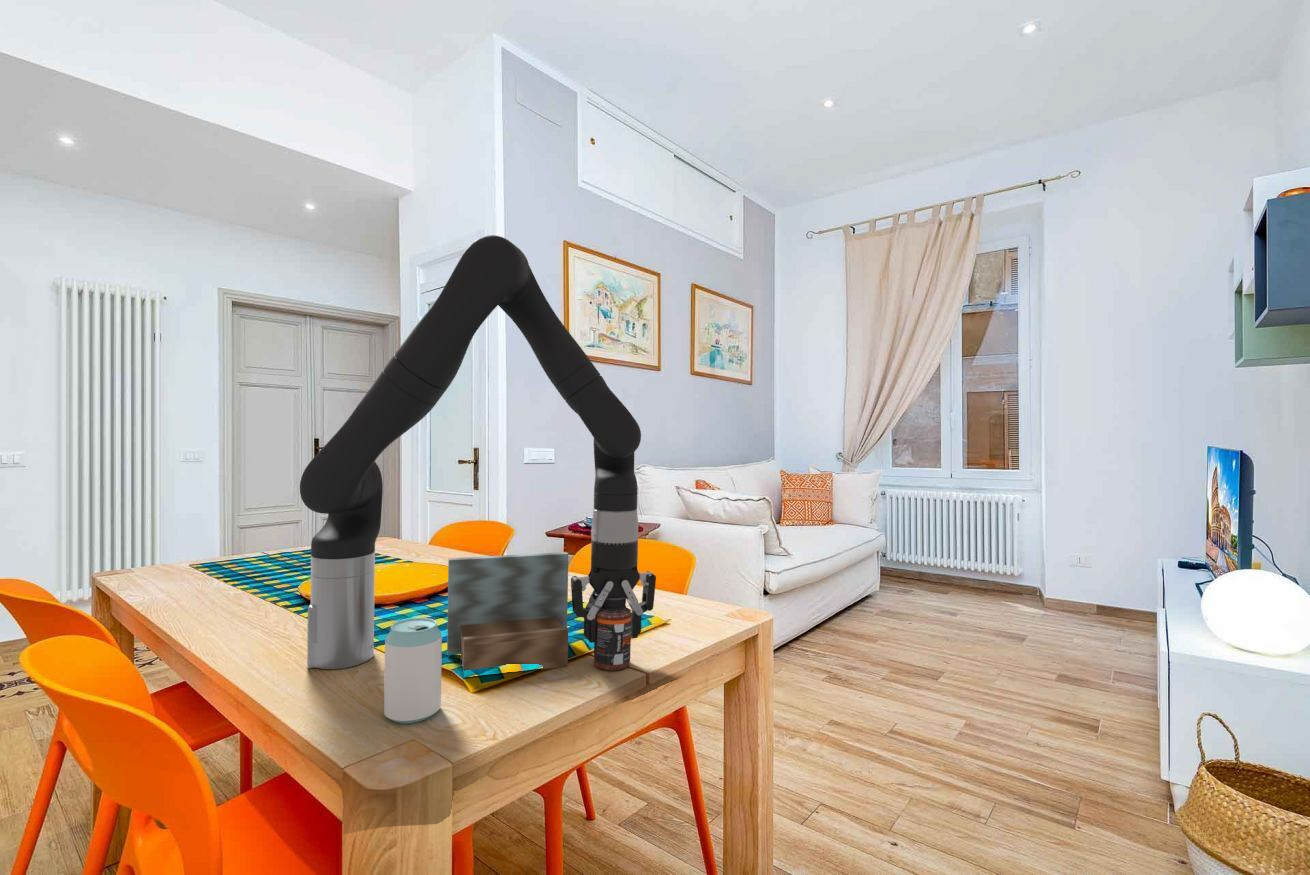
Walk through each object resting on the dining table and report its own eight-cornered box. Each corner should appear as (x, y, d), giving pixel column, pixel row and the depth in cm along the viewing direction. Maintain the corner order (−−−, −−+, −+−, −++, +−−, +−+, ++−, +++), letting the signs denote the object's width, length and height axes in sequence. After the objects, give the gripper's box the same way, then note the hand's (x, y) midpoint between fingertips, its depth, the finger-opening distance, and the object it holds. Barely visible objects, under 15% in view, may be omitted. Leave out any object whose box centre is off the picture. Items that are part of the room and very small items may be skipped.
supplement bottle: (629, 672, 98) (630, 601, 97) (591, 671, 98) (592, 600, 97) (631, 658, 104) (632, 591, 103) (595, 657, 104) (597, 590, 103)
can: (445, 700, 87) (447, 615, 86) (434, 725, 80) (435, 632, 79) (393, 702, 86) (394, 616, 85) (376, 727, 79) (377, 633, 78)
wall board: (449, 680, 93) (451, 574, 93) (447, 653, 104) (448, 558, 103) (579, 664, 100) (581, 566, 100) (564, 641, 111) (566, 552, 110)
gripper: (576, 543, 94) (574, 652, 95) (664, 539, 99) (662, 642, 100) (565, 534, 101) (564, 635, 102) (648, 531, 106) (646, 627, 107)
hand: (612, 638), depth 101 cm, fingers open, 6 cm apart
